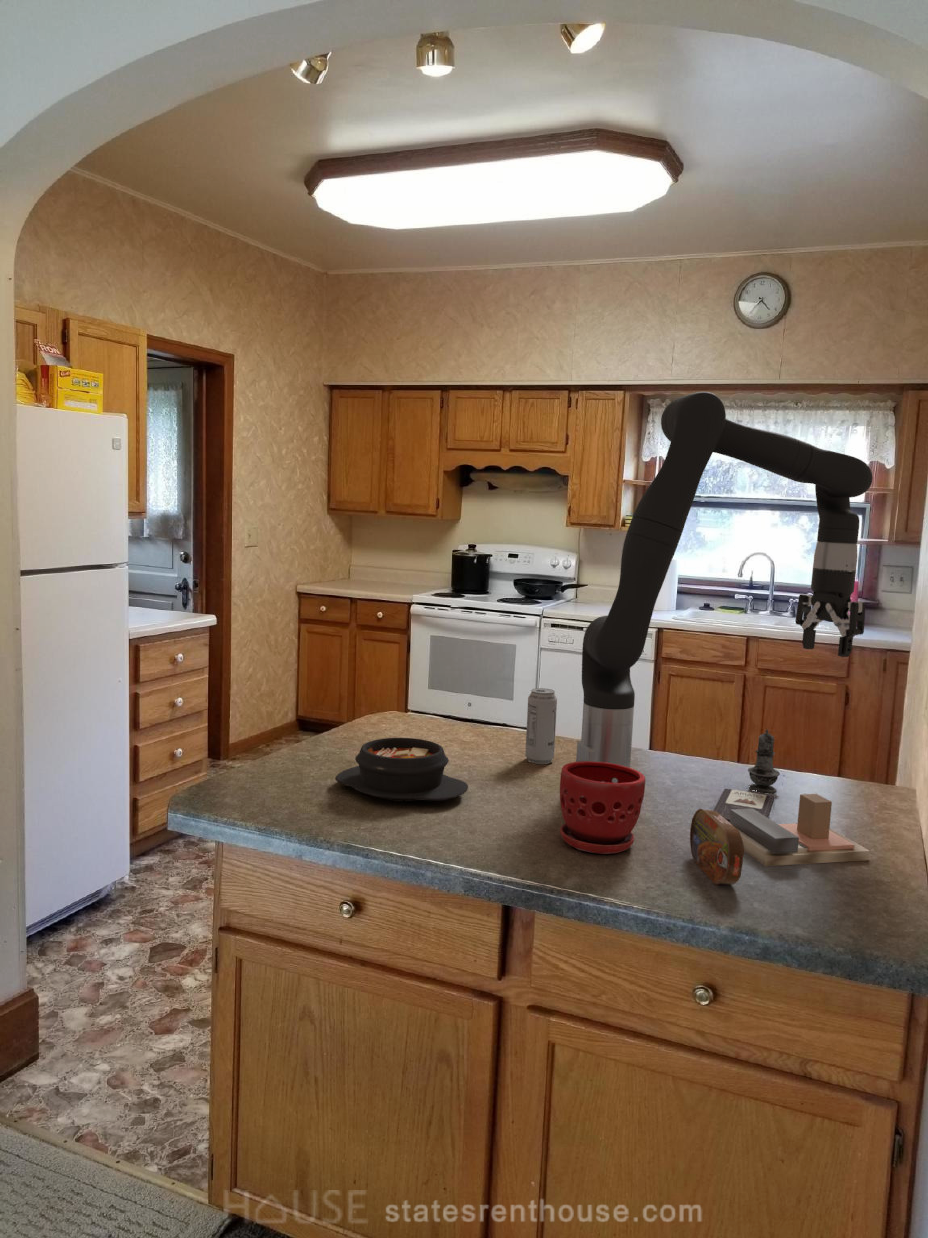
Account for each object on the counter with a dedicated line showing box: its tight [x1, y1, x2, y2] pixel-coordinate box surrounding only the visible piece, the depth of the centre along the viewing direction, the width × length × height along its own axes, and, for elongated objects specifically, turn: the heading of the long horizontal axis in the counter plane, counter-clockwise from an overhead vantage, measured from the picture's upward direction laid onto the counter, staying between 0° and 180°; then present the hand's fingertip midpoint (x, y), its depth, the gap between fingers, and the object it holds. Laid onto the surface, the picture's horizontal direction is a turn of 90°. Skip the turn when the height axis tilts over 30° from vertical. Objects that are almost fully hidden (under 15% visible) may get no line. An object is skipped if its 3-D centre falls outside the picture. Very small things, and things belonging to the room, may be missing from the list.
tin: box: [689, 808, 745, 885], centre depth 131 cm, size 15×3×8 cm, turn 5°
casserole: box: [335, 737, 469, 802], centre depth 162 cm, size 25×19×8 cm
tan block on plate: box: [777, 793, 855, 851], centre depth 142 cm, size 8×10×7 cm
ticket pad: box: [730, 809, 870, 867], centre depth 142 cm, size 18×13×4 cm
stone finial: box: [747, 728, 781, 795], centre depth 172 cm, size 6×6×12 cm
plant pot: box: [559, 761, 646, 855], centre depth 140 cm, size 13×13×12 cm
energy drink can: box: [524, 687, 558, 765], centre depth 185 cm, size 6×6×15 cm
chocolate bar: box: [712, 788, 775, 822], centre depth 161 cm, size 9×1×18 cm
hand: (825, 652), depth 168 cm, fingers open, 8 cm apart
